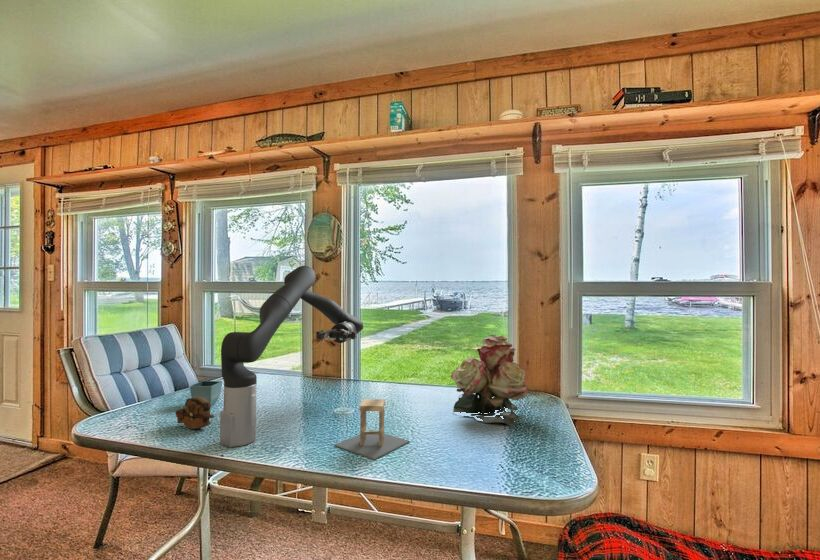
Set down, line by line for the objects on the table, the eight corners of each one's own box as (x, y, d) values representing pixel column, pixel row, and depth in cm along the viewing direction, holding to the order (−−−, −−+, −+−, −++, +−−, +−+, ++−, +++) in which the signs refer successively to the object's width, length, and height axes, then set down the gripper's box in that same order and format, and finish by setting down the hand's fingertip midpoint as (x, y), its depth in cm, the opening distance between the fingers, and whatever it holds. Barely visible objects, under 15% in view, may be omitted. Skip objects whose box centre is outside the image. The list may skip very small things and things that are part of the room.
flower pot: (211, 409, 151) (211, 386, 152) (188, 408, 151) (189, 385, 152) (222, 402, 160) (222, 380, 160) (201, 402, 160) (201, 380, 161)
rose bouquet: (443, 416, 143) (443, 335, 144) (483, 400, 165) (483, 329, 166) (507, 433, 127) (506, 341, 128) (542, 412, 149) (541, 334, 150)
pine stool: (359, 447, 113) (359, 405, 114) (363, 438, 121) (363, 399, 121) (382, 447, 113) (382, 406, 114) (385, 438, 120) (385, 399, 121)
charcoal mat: (374, 460, 106) (374, 458, 106) (334, 446, 115) (334, 444, 115) (409, 442, 118) (409, 440, 118) (370, 430, 128) (370, 429, 128)
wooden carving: (169, 427, 131) (170, 397, 131) (182, 423, 135) (182, 394, 135) (206, 433, 125) (207, 402, 125) (218, 429, 129) (219, 398, 130)
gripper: (324, 322, 153) (312, 326, 137) (360, 322, 153) (351, 326, 136) (324, 341, 153) (311, 347, 137) (360, 342, 152) (351, 347, 136)
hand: (331, 336), depth 137 cm, fingers open, 8 cm apart
